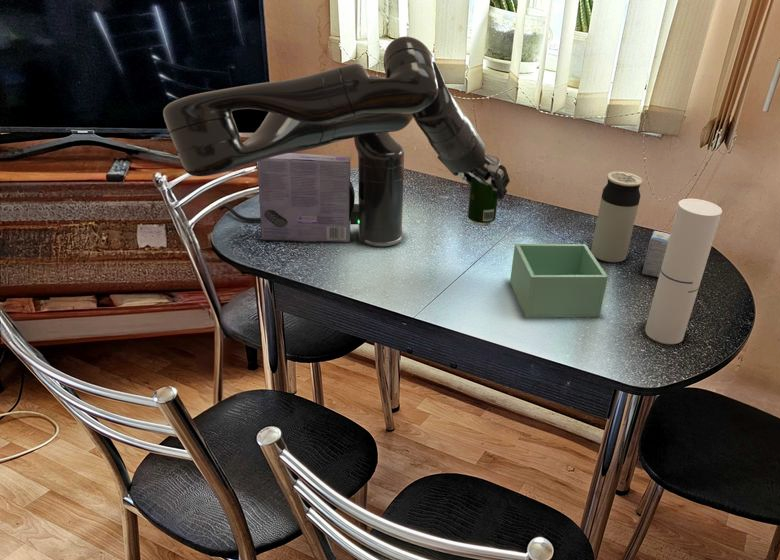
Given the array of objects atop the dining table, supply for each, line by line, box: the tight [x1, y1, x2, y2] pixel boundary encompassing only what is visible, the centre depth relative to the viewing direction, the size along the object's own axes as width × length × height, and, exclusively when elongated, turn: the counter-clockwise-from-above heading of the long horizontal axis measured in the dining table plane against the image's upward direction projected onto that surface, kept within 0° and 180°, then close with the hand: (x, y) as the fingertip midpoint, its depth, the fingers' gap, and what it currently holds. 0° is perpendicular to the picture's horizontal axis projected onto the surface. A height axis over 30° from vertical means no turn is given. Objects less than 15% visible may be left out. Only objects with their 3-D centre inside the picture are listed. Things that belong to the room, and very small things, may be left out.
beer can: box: [467, 154, 502, 227], centre depth 127 cm, size 5×5×12 cm
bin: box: [509, 243, 609, 319], centre depth 131 cm, size 15×14×9 cm
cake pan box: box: [256, 152, 356, 243], centre depth 141 cm, size 19×5×18 cm, turn 100°
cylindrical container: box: [644, 198, 723, 345], centre depth 120 cm, size 7×7×25 cm
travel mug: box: [590, 171, 644, 263], centre depth 147 cm, size 8×8×18 cm
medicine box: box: [641, 230, 670, 278], centre depth 145 cm, size 8×4×9 cm, turn 71°
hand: (489, 190), depth 128 cm, fingers closed on beer can, 5 cm apart
